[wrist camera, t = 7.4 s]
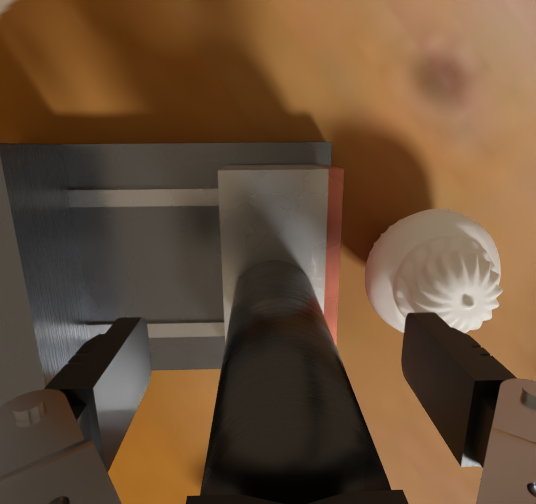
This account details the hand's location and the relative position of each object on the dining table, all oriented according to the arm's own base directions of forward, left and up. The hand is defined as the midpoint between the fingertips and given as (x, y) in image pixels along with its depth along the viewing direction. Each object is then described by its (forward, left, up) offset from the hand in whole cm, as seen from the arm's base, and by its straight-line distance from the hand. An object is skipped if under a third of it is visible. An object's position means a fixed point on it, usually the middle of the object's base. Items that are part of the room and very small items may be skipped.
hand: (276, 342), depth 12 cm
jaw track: (0, -5, -9) cm, 11 cm away
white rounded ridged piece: (0, +7, -10) cm, 12 cm away
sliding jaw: (0, 0, -7) cm, 7 cm away
